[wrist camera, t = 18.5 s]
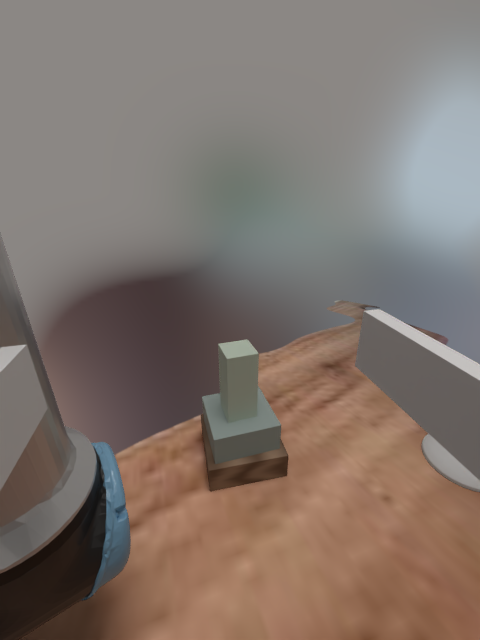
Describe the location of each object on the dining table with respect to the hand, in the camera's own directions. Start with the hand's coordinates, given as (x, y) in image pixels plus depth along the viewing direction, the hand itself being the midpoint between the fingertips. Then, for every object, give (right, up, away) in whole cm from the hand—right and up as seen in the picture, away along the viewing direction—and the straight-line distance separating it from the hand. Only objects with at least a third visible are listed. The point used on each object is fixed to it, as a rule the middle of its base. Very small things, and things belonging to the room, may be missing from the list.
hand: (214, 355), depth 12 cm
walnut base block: (+1, -23, +43) cm, 49 cm away
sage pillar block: (+1, -14, +39) cm, 42 cm away
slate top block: (+1, -19, +41) cm, 45 cm away
